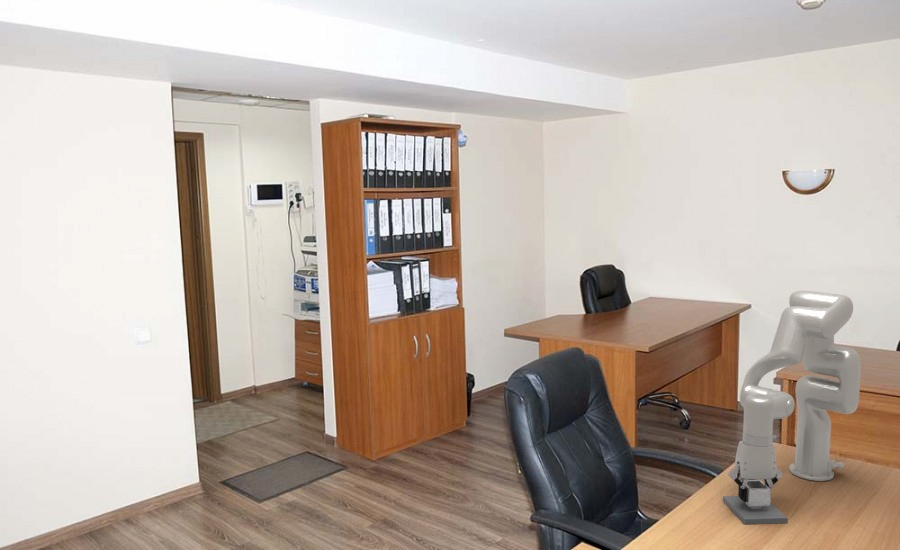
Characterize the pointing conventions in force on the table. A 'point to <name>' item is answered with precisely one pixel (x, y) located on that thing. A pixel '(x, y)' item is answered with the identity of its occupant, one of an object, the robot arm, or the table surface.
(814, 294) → the robot arm
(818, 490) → the table surface
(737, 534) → the table surface
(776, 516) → the stand
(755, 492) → the collar
